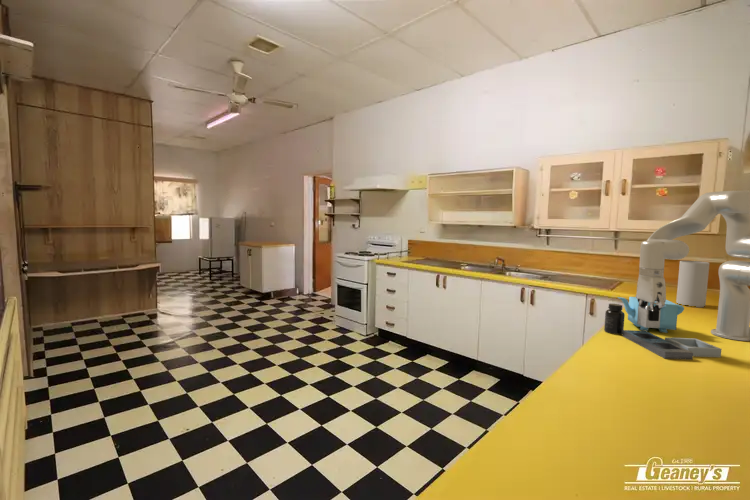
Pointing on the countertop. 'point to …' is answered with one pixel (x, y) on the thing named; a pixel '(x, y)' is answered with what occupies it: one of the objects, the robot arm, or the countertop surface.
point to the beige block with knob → (646, 318)
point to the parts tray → (696, 347)
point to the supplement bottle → (614, 319)
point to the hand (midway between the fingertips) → (648, 318)
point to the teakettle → (666, 314)
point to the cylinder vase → (692, 283)
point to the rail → (657, 345)
